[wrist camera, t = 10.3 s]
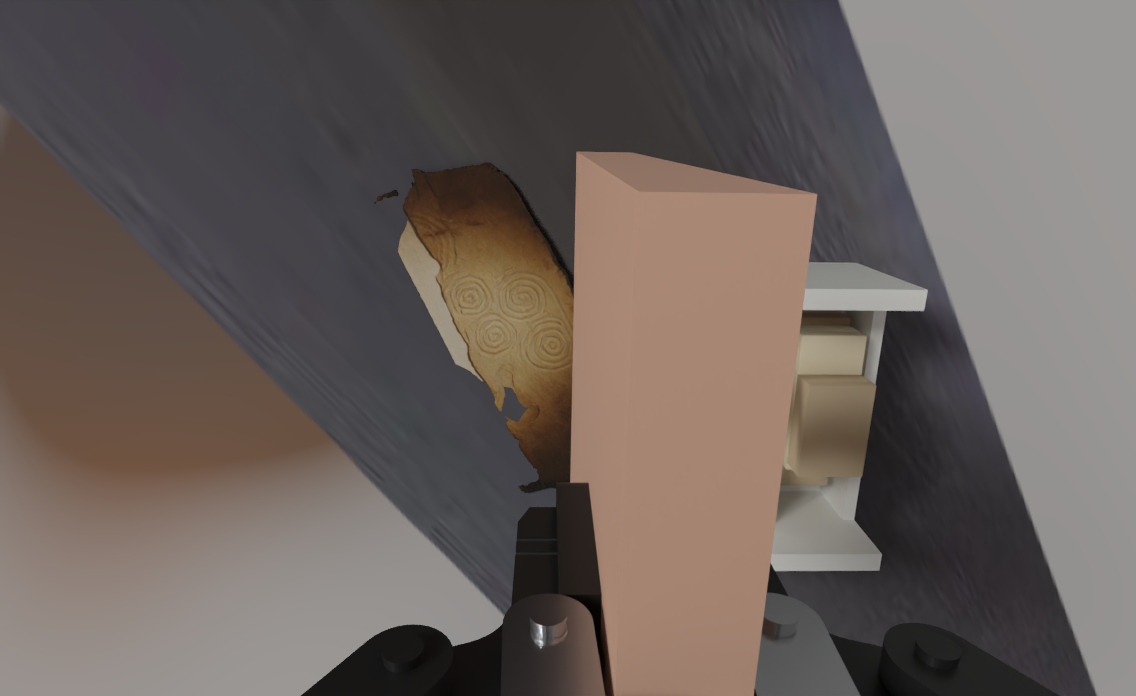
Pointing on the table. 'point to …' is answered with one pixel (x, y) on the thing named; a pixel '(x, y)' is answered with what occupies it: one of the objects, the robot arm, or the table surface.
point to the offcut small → (830, 425)
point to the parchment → (497, 301)
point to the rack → (826, 513)
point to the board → (683, 410)
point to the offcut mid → (826, 357)
